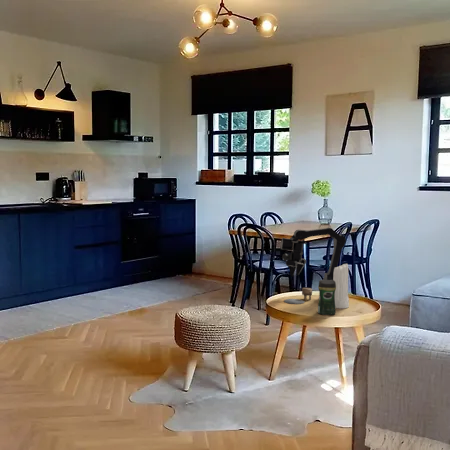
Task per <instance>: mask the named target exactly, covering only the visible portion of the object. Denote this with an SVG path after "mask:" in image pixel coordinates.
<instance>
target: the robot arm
mask: <svg viewBox="0 0 450 450" xmlns="http://www.w3.org/2000/svg"><path fill="white" fill-rule="evenodd" d="M326 235H327V236H330V238H331V239H333V249H332V250H333V251H332V256H331V259H330V263H329V269H328V271H327V272H324V274H323V275H324V277H323V279H322V280H333V274H334V268H335V267H338V264H339V261H340V256H341V252H342V250H343V248H344V247H345V244H346V242H347V238H346V237H345V236H344V235H342V234H339V233H338V232H336V231H335V230H334V229H333V228H331V227H325V228H324V227H323V228H316V229H295V230H294V232H293V235H292V236H291V237H289V238H286V237H285V238H284V237H282V238H281V241H280V250H286V251H287V250H288V251H289V250H290V251H291V249H292V251H291V252H290V254H289V253H288V254H287V253H283V254H282V257H281V258H282V260H283V262H284V261H285V265H286V266H287V267H288V270H289V274H290V277H291V278H293V277H294V275H295V273H296V276H300V273H302V271H303V268H304V267H305V266H306V265H307V259H305V258H302V257H303V256H302V255H303V254H304V252H303V248H304V245H306V244H308V243H307V242H306V239H308V238H311V237H312V238H313V237H318V236H326Z"/></svg>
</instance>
